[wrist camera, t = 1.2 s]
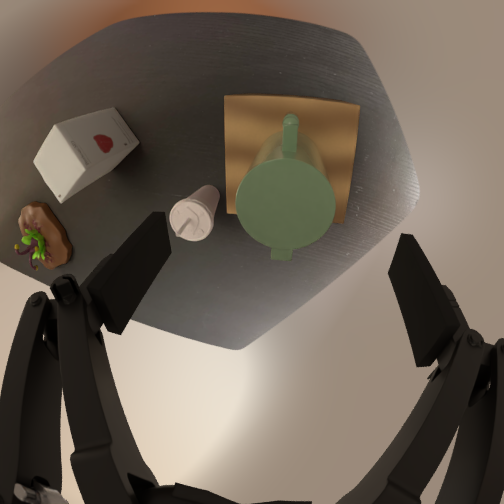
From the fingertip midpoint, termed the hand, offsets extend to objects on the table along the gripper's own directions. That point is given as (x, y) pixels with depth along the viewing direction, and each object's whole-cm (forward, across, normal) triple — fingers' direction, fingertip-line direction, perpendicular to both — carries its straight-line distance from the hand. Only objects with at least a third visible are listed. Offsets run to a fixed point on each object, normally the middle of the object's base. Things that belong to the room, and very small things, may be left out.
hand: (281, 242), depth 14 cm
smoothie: (+29, -13, -10) cm, 33 cm away
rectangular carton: (+29, -31, +1) cm, 42 cm away
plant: (+29, -62, -21) cm, 71 cm away
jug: (+16, 0, 0) cm, 16 cm away
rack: (+28, 0, 0) cm, 29 cm away
